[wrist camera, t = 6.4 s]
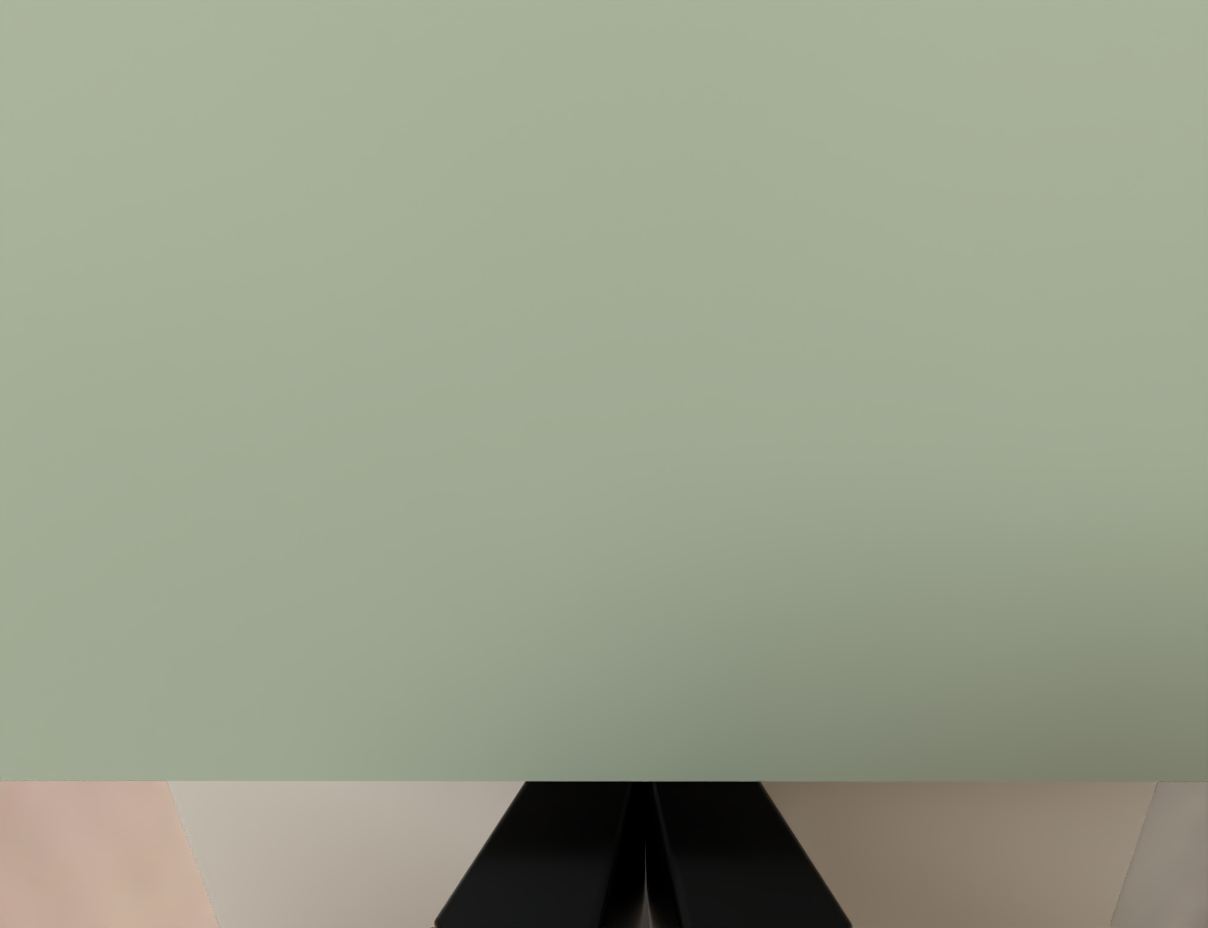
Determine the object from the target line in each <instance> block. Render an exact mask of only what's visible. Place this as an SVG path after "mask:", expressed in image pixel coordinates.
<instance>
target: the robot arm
mask: <svg viewBox="0 0 1208 928" xmlns="http://www.w3.org/2000/svg"><path fill="white" fill-rule="evenodd" d="M645 848H646V865H645ZM645 875H646V882H647V902H648V912H649V922H650V928H852V923H851V921H850V920H849V918H848V917H847V915H846V914H845V912H844V911H843V909H842V907H841V906H840V904H839V903H838V901H837V900H836V898H835V897H834V895H833V893H832V892H831V890H830V889H829V887H828V886H827V884H826V883H825V881H824V880H823V878H822V876H821V875H820V873H819V872H818V870H817V869H816V867H815V866H814V864H813V862H812V861H811V859H810V858H809V856H808V855H807V853H806V852H805V850H804V848H803V847H802V845H801V844H800V842H799V841H798V839H797V838H796V836H795V834H794V833H793V831H792V830H791V828H790V827H789V825H788V824H787V822H786V820H785V819H784V817H783V816H782V814H781V813H780V811H779V810H778V808H777V806H776V805H775V803H774V802H773V800H772V799H771V797H770V796H769V794H768V793H767V791H766V789H765V788H764V786H763V785H762V783H761V782H760V781H525V782H524V784H523V785H522V787H521V788H520V790H519V792H518V793H517V795H516V796H515V798H514V799H513V801H512V802H511V804H510V805H509V807H508V808H507V810H506V811H505V813H504V815H503V816H502V818H501V819H500V821H499V822H498V824H497V825H496V827H495V828H494V830H493V831H492V833H491V834H490V836H489V837H488V839H487V841H486V842H485V844H484V845H483V847H482V848H481V850H480V851H479V853H478V854H477V856H476V857H475V859H474V860H473V862H472V864H471V865H470V867H469V868H468V870H467V871H466V873H465V874H464V876H463V877H462V879H461V880H460V882H459V883H458V885H457V887H456V888H455V890H454V891H453V893H452V894H451V896H450V897H449V899H448V900H447V902H446V903H445V905H444V906H443V908H442V909H441V911H440V913H439V914H438V916H437V917H436V919H435V921H434V926H435V927H431V928H642V925H643V914H644V903H645Z"/></svg>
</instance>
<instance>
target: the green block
mask: <svg viewBox="0 0 1208 928" xmlns="http://www.w3.org/2000/svg"><path fill="white" fill-rule="evenodd" d="M0 781H964V782H1208V0H0Z"/></svg>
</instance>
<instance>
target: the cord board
mask: <svg viewBox="0 0 1208 928" xmlns="http://www.w3.org/2000/svg"><path fill="white" fill-rule="evenodd" d="M166 782H167V784H168V787H169V790H170V793H171V795H172V798H173V801H174V804H175V806H176V809H177V812H178V815H179V817H180V820H181V823H182V826H183V828H184V831H185V834H186V837H187V839H188V842H189V845H190V848H191V850H192V853H193V856H194V859H195V861H196V864H197V867H198V870H199V873H200V875H201V878H202V881H203V884H204V886H205V889H206V892H207V895H208V897H209V900H210V903H211V906H212V908H213V911H214V914H215V917H216V919H217V922H218V925H219V928H431V927H435V926H434V921H435V919H436V917H437V916H438V914H439V913H440V911H441V909H442V908H443V906H444V905H445V903H446V902H447V900H448V899H449V897H450V896H451V894H452V893H453V891H454V890H455V888H456V887H457V885H458V883H459V882H460V880H461V879H462V877H463V876H464V874H465V873H466V871H467V870H468V868H469V867H470V865H471V864H472V862H473V860H474V859H475V857H476V856H477V854H478V853H479V851H480V850H481V848H482V847H483V845H484V844H485V842H486V841H487V839H488V837H489V836H490V834H491V833H492V831H493V830H494V828H495V827H496V825H497V824H498V822H499V821H500V819H501V818H502V816H503V815H504V813H505V811H506V810H507V808H508V807H509V805H510V804H511V802H512V801H513V799H514V798H515V796H516V795H517V793H518V792H519V790H520V788H521V787H522V785H523V784H524V782H525V781H166ZM760 782H761V783H762V785H763V786H764V788H765V789H766V791H767V793H768V794H769V796H770V797H771V799H772V800H773V802H774V803H775V805H776V806H777V808H778V810H779V811H780V813H781V814H782V816H783V817H784V819H785V820H786V822H787V824H788V825H789V827H790V828H791V830H792V831H793V833H794V834H795V836H796V838H797V839H798V841H799V842H800V844H801V845H802V847H803V848H804V850H805V852H806V853H807V855H808V856H809V858H810V859H811V861H812V862H813V864H814V866H815V867H816V869H817V870H818V872H819V873H820V875H821V876H822V878H823V880H824V881H825V883H826V884H827V886H828V887H829V889H830V890H831V892H832V893H833V895H834V897H835V898H836V900H837V901H838V903H839V904H840V906H841V907H842V909H843V911H844V912H845V914H846V915H847V917H848V918H849V920H850V921H851V923H852V928H1109V925H1110V922H1111V919H1112V917H1113V914H1114V911H1115V908H1116V905H1117V902H1118V899H1119V896H1120V893H1121V890H1122V887H1123V884H1124V881H1125V878H1126V875H1127V872H1128V869H1129V866H1130V863H1131V860H1132V857H1133V854H1134V851H1135V848H1136V845H1137V842H1138V839H1139V836H1140V833H1141V831H1142V828H1143V825H1144V822H1145V819H1146V816H1147V813H1148V810H1149V807H1150V804H1151V801H1152V798H1153V795H1154V792H1155V789H1156V786H1157V783H1158V782H964V781H760ZM645 865H646V848H645ZM642 928H650V922H649V912H648V902H647V882H646V875H645V903H644V914H643V925H642Z"/></svg>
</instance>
